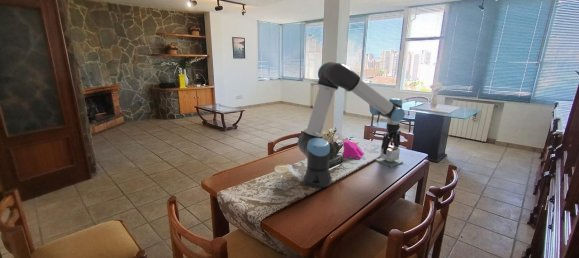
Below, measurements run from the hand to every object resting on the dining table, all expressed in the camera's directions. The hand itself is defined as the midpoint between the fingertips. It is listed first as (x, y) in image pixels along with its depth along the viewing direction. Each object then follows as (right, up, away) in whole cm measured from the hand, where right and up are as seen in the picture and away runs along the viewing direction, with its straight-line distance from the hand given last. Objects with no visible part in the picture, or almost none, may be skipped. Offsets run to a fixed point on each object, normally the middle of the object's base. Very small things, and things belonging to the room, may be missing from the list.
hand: (389, 157), depth 173 cm
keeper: (0, -3, +1) cm, 3 cm away
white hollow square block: (0, -1, 0) cm, 1 cm away
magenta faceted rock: (-20, 0, +13) cm, 24 cm away
